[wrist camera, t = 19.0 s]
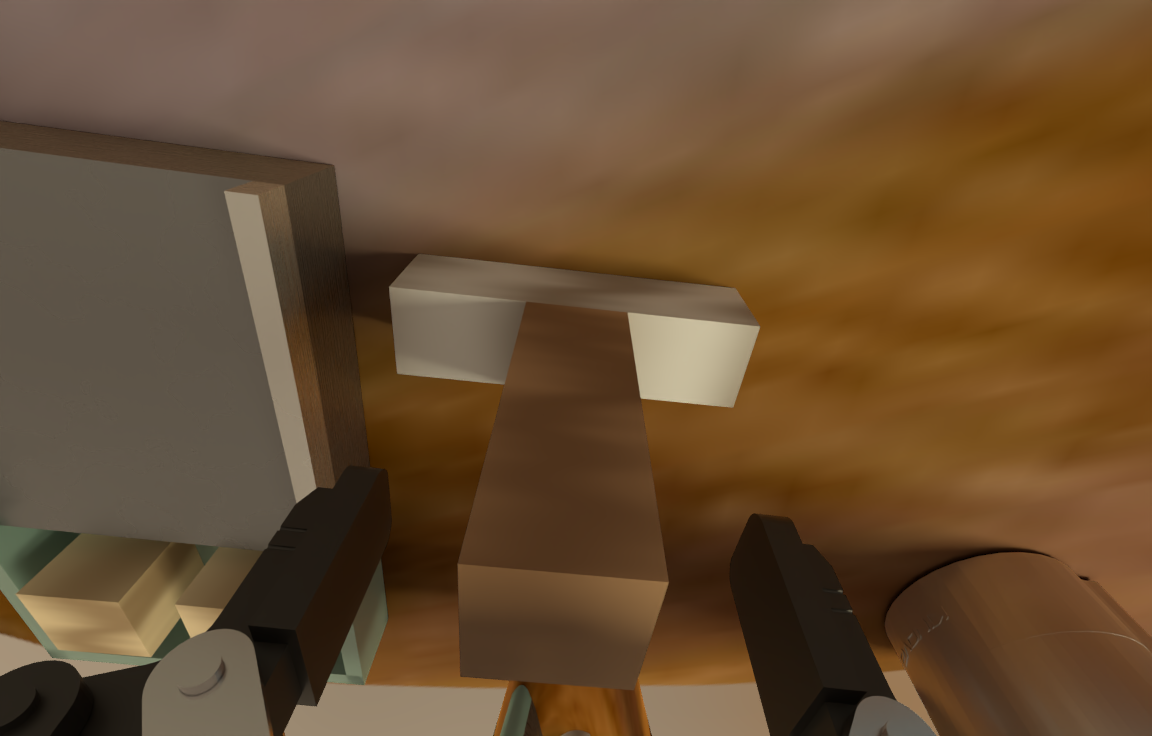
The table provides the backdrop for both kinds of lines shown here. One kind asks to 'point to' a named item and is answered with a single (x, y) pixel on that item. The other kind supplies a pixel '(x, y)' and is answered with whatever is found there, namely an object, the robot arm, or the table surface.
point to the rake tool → (566, 449)
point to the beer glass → (571, 711)
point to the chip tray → (24, 552)
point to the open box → (170, 338)
